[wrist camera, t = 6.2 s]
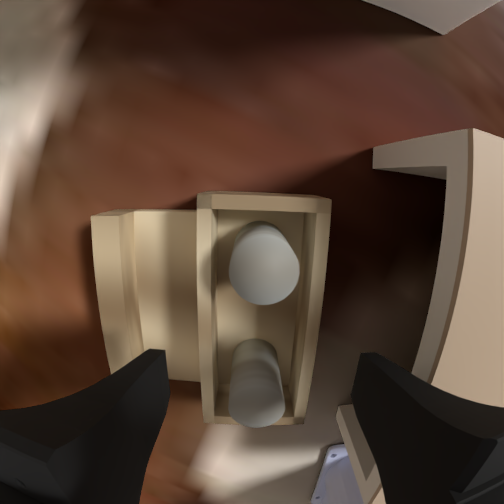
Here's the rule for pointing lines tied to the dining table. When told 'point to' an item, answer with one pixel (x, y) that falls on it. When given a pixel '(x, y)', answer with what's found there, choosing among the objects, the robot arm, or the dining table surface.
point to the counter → (452, 280)
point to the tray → (220, 297)
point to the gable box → (436, 11)
